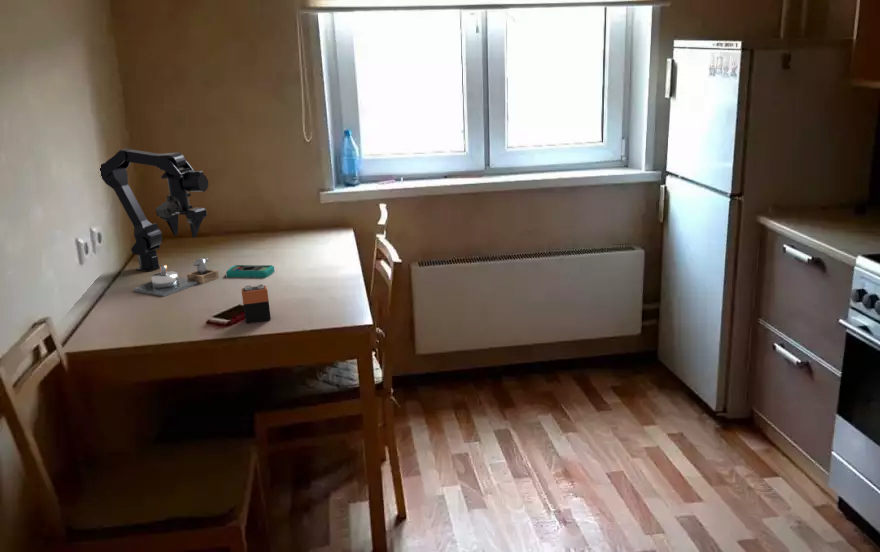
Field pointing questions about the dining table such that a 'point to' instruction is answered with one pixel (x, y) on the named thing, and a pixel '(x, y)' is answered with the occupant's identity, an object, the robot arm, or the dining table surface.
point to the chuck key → (201, 265)
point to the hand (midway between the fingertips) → (185, 236)
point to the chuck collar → (165, 278)
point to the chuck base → (166, 291)
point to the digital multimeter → (250, 271)
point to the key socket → (203, 276)
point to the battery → (256, 303)
